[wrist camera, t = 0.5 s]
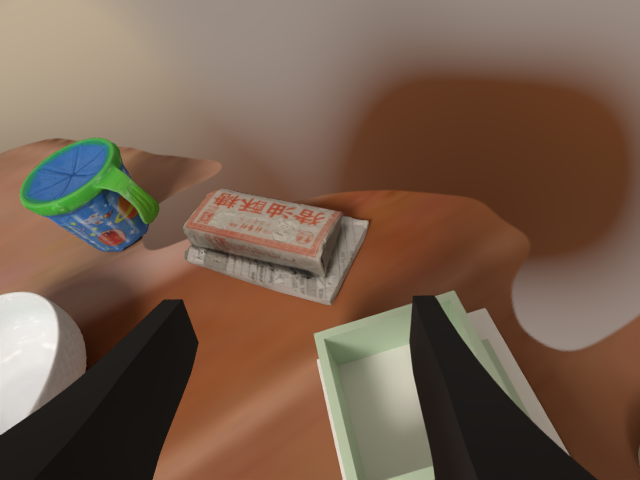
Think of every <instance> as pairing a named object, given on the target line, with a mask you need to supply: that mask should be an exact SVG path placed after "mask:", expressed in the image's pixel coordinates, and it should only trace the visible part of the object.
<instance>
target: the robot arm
mask: <svg viewBox="0 0 640 480" xmlns="http://www.w3.org/2000/svg"><path fill="white" fill-rule="evenodd" d="M409 344H410V353H411V362H412V370H413V376H414V381H415V385H416V389H417V394H418V398H419V403H420V407H421V411H422V416H423V420H424V424H425V429H426V433H427V437H428V442H429V446H430V451H431V457H432V462H433V469H434V476H435V480H597V479H596V478H595V477H594V476H593V475H591V474H590V473H589V472H588V471H587V470H585V469H584V468H583V467H582V466H581V465H579V464H578V463H577V462H576V461H575V460H574V459H573V458H572V457H570V456H569V455H568V454H567V453H566V452H565V451H564V450H563V449H562V448H561V447H559V446H558V445H557V444H556V443H555V442H554V441H553V440H552V439H551V438H550V437H549V436H547V435H546V434H545V433H544V432H543V431H542V430H541V429H540V428H539V427H538V426H537V425H536V424H535V423H534V422H533V421H532V420H531V419H530V418H529V417H528V416H527V415H526V414H525V413H524V412H523V411H522V410H521V409H520V408H519V407H518V406H517V405H516V404H515V403H514V402H513V400H512V399H511V398H510V397H509V396H508V395H507V394H506V393H505V392H504V391H503V389H502V388H501V387H500V386H499V385H498V384H497V383H496V381H495V380H494V379H493V378H492V377H491V375H490V374H489V373H488V372H487V371H486V369H485V368H484V367H483V366H482V364H481V363H480V362H479V360H478V359H477V358H476V357H475V355H474V354H473V353H472V351H471V350H470V348H469V347H468V346H467V344H466V343H465V342H464V340H463V339H462V338H461V336H460V335H459V333H458V332H457V330H456V329H455V327H454V326H453V324H452V323H451V321H450V320H449V318H448V316H447V315H446V313H445V312H444V310H443V308H442V307H441V305H440V303H439V301H438V299H437V298H436V297H435V296H413V301H412V314H411V326H410V338H409ZM197 347H198V340H197V337H196V335H195V332H194V329H193V327H192V324H191V321H190V319H189V316H188V313H187V311H186V308H185V305H184V302H183V300H182V299H177V300H163V301H162V302H161V303H160V304H159V305H158V306H157V307H156V308H154V309H153V310H152V311H151V312H150V313H149V314H148V315H147V316H146V317H145V318H144V319H143V320H142V321H141V322H140V323H139V324H138V325H137V326H136V327H135V328H134V329H133V330H132V331H131V332H130V333H129V334H127V335H126V336H125V337H124V338H123V339H122V340H121V341H120V342H119V343H118V344H117V345H116V346H115V347H114V348H113V349H112V350H110V351H109V352H108V353H107V354H106V355H105V356H104V357H102V358H101V359H100V360H99V361H98V362H97V363H96V364H94V365H93V366H92V367H91V368H90V369H89V370H88V371H86V372H85V373H84V374H83V375H82V376H81V377H79V378H78V379H77V380H76V381H75V382H73V383H72V384H71V385H70V386H68V387H67V388H66V389H65V390H63V391H62V392H61V393H59V394H58V395H57V396H55V397H54V398H53V399H51V400H50V401H49V402H47V403H46V404H45V405H43V406H42V407H41V408H39V409H38V410H36V411H35V412H33V413H32V414H30V415H29V416H28V417H26V418H25V419H23V420H22V421H20V422H19V423H17V424H16V425H14V426H13V427H11V428H10V429H8V430H7V431H6V432H4V433H3V434H1V435H0V480H152V479H153V476H154V473H155V469H156V466H157V462H158V459H159V455H160V452H161V450H162V447H163V444H164V441H165V438H166V436H167V433H168V431H169V428H170V426H171V423H172V421H173V418H174V416H175V413H176V411H177V408H178V406H179V403H180V401H181V398H182V395H183V393H184V390H185V388H186V385H187V383H188V380H189V377H190V375H191V371H192V368H193V364H194V360H195V356H196V352H197Z"/></svg>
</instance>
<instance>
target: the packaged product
mask: <svg viewBox="0 0 640 480" xmlns="http://www.w3.org/2000/svg"><path fill="white" fill-rule="evenodd" d="M343 215H344V214H343V213H342V212H341V211H335V210H331V209H326V208H321V207H316V206H310V205H306V204H300V203H294V202H289V201H283V200H278V199H273V198H267V197H263V196H257V195H253V194H247V193H241V192H238V191H232V190H227V189H217V190H215V191H213V192H212V193H209V194H208V195H206V198H205V199H204V200H203V201H202V203H201V205H200V206H199V207H198V208H197V209H196V210H195V211H194V212H193V214H192V215H191V217H190V218H189V219H188V221H187V222H186V223H185V224H184V226H183V227H182V229H183V230H184V233H185V235H187V236H188V239H189V241H190V243H191V244H192V245H191V246H190V247H189V249H188V250H187V251H185V256H184V258H185V260H186V261H187V262H189V263H191V264H195V265H198V266H202V267H205V268H209V269H212V270H214V271H217V272H220V273H222V274H225V275H228V276H231V277H234V278H237V279H240V280H243V281H247V282H250V283H253V284H255V285H259V286H262V287H265V288H268V289H271V290H275V291H278V292H281V293H285V294H289V295H292V296H296V297H300V298H304V299H307V300H311V301H315V302H318V303H322V304H326V305H332V303H333V302H334V300H335V298H336V296H337V294H338V292H339V290H340V288H341V286H342V284H343V281H344V279H345V277H346V275H347V273H348V271H349V269H350V267H351V265H352V263H353V261H354V259H355V257H356V255H357V253H358V251H359V249H360V247H361V245H362V243H363V241H364V238H365V236H366V233H367V230H368V227H369V221H365V220H358V219H354V218H352V217H345V216H343Z"/></svg>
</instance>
